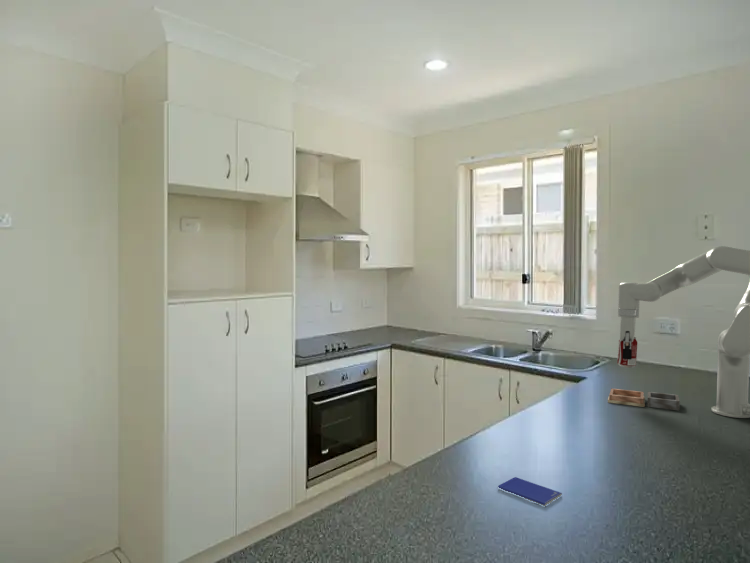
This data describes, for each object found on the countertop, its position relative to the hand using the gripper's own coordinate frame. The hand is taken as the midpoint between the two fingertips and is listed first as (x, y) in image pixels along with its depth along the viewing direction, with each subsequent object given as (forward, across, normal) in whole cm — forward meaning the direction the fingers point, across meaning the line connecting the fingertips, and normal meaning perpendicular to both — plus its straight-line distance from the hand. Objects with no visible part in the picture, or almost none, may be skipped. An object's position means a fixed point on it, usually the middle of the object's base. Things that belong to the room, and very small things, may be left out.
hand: (627, 357), depth 205 cm
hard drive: (+19, +104, -17) cm, 107 cm away
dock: (+18, 0, +7) cm, 19 cm away
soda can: (+4, 0, 0) cm, 4 cm away
